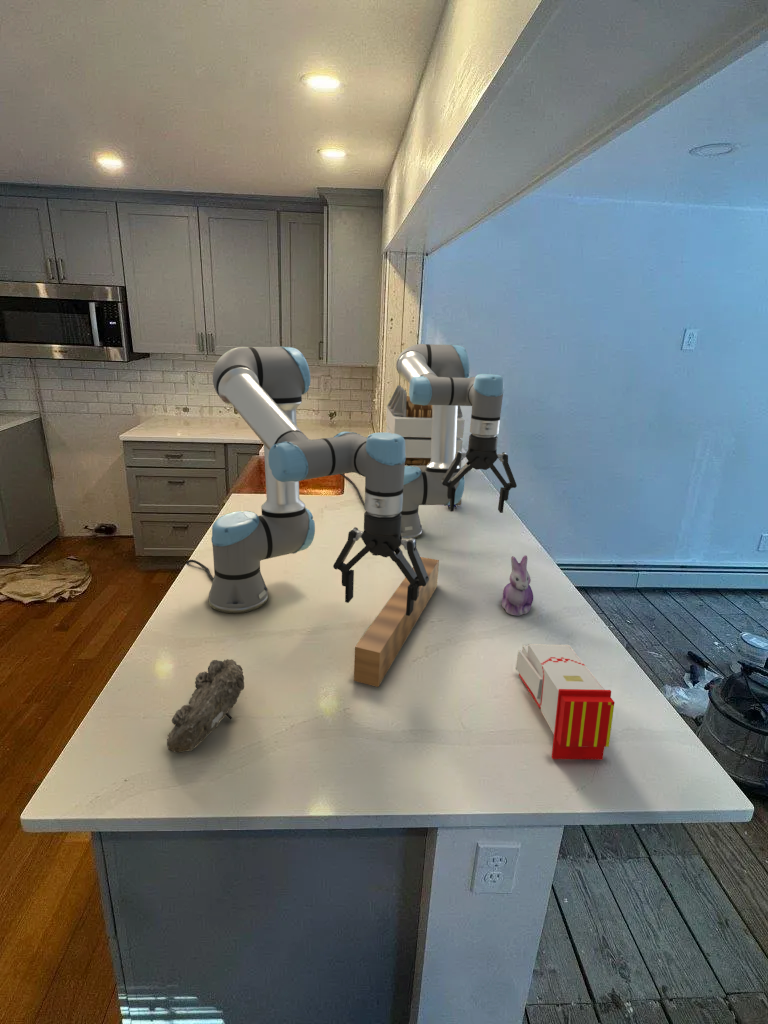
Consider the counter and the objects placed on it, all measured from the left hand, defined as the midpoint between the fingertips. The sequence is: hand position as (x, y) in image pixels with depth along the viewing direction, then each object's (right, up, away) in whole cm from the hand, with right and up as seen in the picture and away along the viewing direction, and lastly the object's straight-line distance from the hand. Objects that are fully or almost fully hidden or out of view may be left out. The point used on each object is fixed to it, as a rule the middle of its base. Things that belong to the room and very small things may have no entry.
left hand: (378, 606), depth 120 cm
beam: (+6, -9, +22) cm, 24 cm away
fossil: (-32, -19, -12) cm, 39 cm away
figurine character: (+29, +23, +112) cm, 117 cm away
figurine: (+37, -6, +33) cm, 50 cm away
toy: (+35, -20, -6) cm, 41 cm away
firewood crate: (+18, +39, +155) cm, 161 cm away
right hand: (+27, +20, +37) cm, 50 cm away
